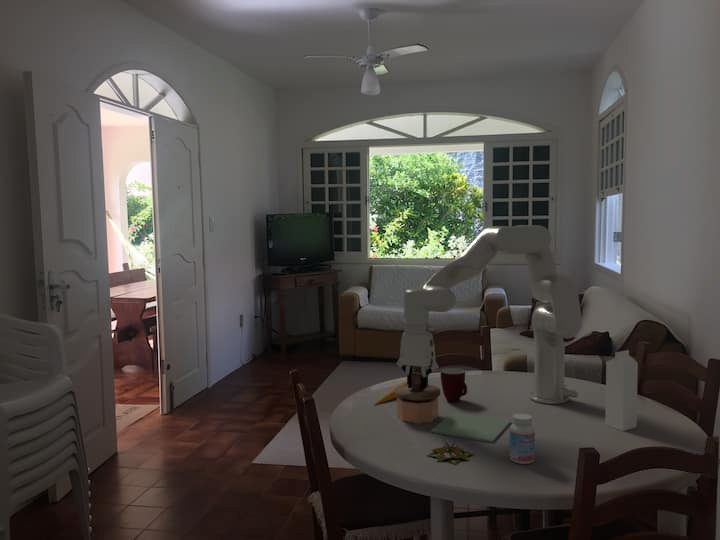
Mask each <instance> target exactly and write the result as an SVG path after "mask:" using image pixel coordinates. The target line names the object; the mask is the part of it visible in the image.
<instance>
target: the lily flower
mask: <svg viewBox="0 0 720 540" xmlns="http://www.w3.org/2000/svg"><path fill="white" fill-rule="evenodd" d="M454 439H455V438H453V439H452V442H451V443H452V444H449V442H450V439H449V441H448V442H447V441H446V440H445V438H443V440H441V442H442V443H443V445H442V447H437V448H434V449H433V448H432V449H431V450H432V451H435V452H431V453H429V454H427V455H426V457H434V458H437V459H436V460H437V462H438V461H439V462H442V461H444V460H445V461H446V462H449V463H451V464H453V465H454V466H456V465H457V464H458V463H459V462H460V460H461V459H462V460H466V461H469V462H470V461H471V460H470V459H469V458H468V456H473V455H475V453H473V452H470V451H466V450H465V451H464V448H462V447H459V446H460V444H459V443H458V444H457V445H456V446H455V444H456V442H457V439H456V440H454ZM453 441H454V442H453ZM447 449H448V450H447ZM438 453H439V454H440V455H437V457H436V456H431V455H436V454H438ZM444 453H449V454H448V455H449V456H450V455H452V456H450V457H449V456H447V457H445V455H444ZM451 453H454V454H455V455H456V457H455V455H454V454H451ZM460 453H462V454H460ZM466 454H468V455H466ZM429 455H430V456H429ZM453 455H454V456H453ZM456 458H458V459H456ZM447 459H449V460H447ZM451 459H455V460H456V461H455V460H454V461H455V463H453V462H454V461H453V460H451ZM450 460H451V461H450ZM452 461H453V462H452ZM439 462H438V463H439Z"/></svg>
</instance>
